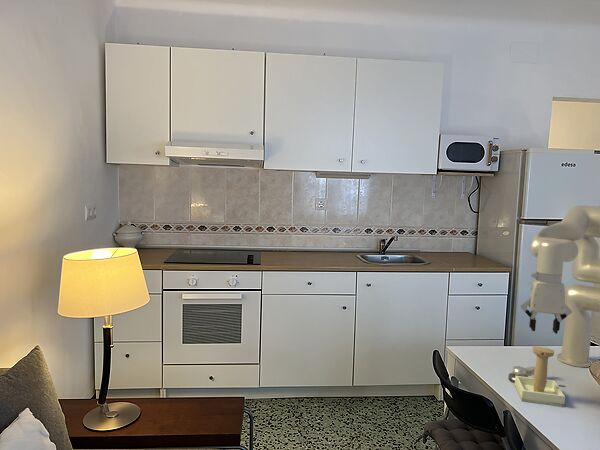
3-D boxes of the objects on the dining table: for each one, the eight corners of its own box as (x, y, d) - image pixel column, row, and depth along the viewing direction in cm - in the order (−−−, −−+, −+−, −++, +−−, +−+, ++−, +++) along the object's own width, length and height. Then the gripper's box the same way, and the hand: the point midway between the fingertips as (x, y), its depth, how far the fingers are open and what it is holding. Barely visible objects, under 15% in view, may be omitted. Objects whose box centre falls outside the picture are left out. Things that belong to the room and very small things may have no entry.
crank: (519, 379, 169) (520, 366, 169) (509, 374, 173) (510, 361, 173) (547, 375, 174) (548, 362, 174) (537, 370, 178) (539, 357, 178)
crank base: (506, 375, 177) (507, 371, 176) (562, 382, 172) (562, 378, 172) (510, 383, 170) (510, 379, 170) (568, 390, 165) (568, 386, 165)
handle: (549, 397, 157) (553, 353, 156) (527, 392, 160) (532, 349, 159) (549, 392, 161) (554, 349, 160) (528, 387, 164) (533, 345, 163)
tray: (514, 385, 168) (515, 375, 168) (553, 390, 165) (554, 380, 165) (521, 401, 156) (522, 390, 156) (563, 406, 153) (564, 396, 153)
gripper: (522, 278, 155) (518, 331, 157) (581, 282, 151) (576, 337, 153) (518, 273, 162) (513, 325, 164) (574, 278, 158) (569, 330, 160)
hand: (543, 330), depth 158 cm, fingers open, 6 cm apart
